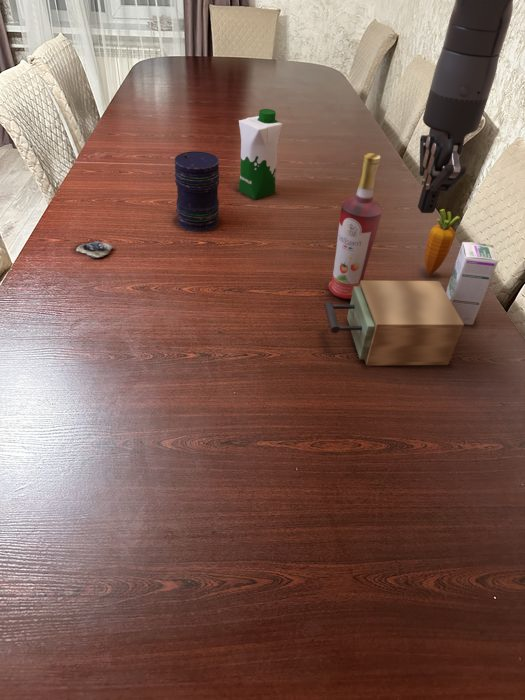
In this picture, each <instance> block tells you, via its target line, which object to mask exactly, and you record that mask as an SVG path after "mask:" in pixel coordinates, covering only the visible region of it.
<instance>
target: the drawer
mask: <svg viewBox="0 0 525 700" xmlns="http://www.w3.org/2000/svg"><path fill="white" fill-rule="evenodd" d="M323 307H324V310H325V314H326V317H327V321H328V325H329V329H330V332H331V333H332V334H337V333H339V332H340V331H350V332H351V336H352V339H353V342H354V345H355V348H356V351H357V354H358V355H357V356H358V358H359V360H365V359H367V355H368V351H369V347H370V344H371V340H372V336H373V332H374V328H375V325H374V322H373V320H372V317H371V314H370V312H369V309H368V304H367V301H365V298H364V295H363V293H362V290H361V287H360V286H354V288H353V293H352V297H351V299H350V302H349V304H333V302H331V301H326V302H325V303H324V305H323ZM336 310H348V312H347V317H346V319H347V323H348V325H339V321H338V319H337V315H336Z"/></svg>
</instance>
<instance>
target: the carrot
mask: <svg viewBox="0 0 525 700" xmlns="http://www.w3.org/2000/svg"><path fill="white" fill-rule="evenodd" d="M439 215H440V218H437V219H436V221H437V222H438V224H436V225H434V226H433V227H432V228H431V229H430V231H429V234H428V236H427V237H428V238H427V240H426V246H425V252H424V266H425V271H426V275H428V276H432V275H434V273H435V272H436V271H437V270H438V269H439V268H440V267H441V265H443V263H444V261H445V259H446V258H447V256H448V254H449V253H450V250H451V248H452V246H453V243H454V240H455V237H456V231H454V229H453V228H452V226H454V224H455V223H457V222H458V221H459V220H461V217H460V216H459V215H457V216H455V217H454V218H452V212H451V211H447V212H446V209H444V208H442V209H440V210H439Z"/></svg>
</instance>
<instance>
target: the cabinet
mask: <svg viewBox="0 0 525 700" xmlns="http://www.w3.org/2000/svg"><path fill="white" fill-rule="evenodd" d="M359 286H360V287H361V290H362V293H363V295H364V298H365V301H367V304H368V307H369V310H370V312H371V315H372V318H373V320H374V323H375V328H374V332H373V336H372V340H371V344H370V347H369V351H368V355H367V359H364V362H365V365H366V366H449V363H450V361H451V358H452V355H453V353H454V351H455V349H456V346H457V344H458V341H459V339H460V336H461V333H462V331H463V328H464V326H465V324H463V322H462V320H461V318H460V317H459V315H458V313H457V311H456V310H455V308H454V306H453V304H452V303H451V301H450V299H449V297H448V296H447V294H446V289H444V287H443V285H442V283H441V282H440V281H439V280H370V279H369V280H368V279H367V280H364V279H363V280H361V281H360V285H359Z"/></svg>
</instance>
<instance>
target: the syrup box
mask: <svg viewBox="0 0 525 700" xmlns="http://www.w3.org/2000/svg"><path fill="white" fill-rule="evenodd" d="M498 262H499V260H498V258H497V254H496V251H495V248H494V245H491V244H487V243H481V242H473V241H471V242H470V241H462V243H461V245H460V249H459V251H458V254H457V257H456V260H455V263H454V266H453V269H452V272H451V275H450V277H449V281H448V284H447V287H446V289H445V292H446V294H447V296H448V297H449V299H450V301H451V303H452V304H453V306H454V308H455V310H456V311H457V313H458V315H459V317H460V318H461V320H462V322H463V324H464V325H466V326H467V325H469V326H473V325H474V324H475V320H476V318H477V316H478V314H479V311H480V308H481V307H482V306H481V305H482V303H483V301H484V298H485V296H486V293H487V291H488V288H489V285H490V283H491V280H492V278H493V275H494V273H495V270H496V267H497V265H498Z"/></svg>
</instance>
